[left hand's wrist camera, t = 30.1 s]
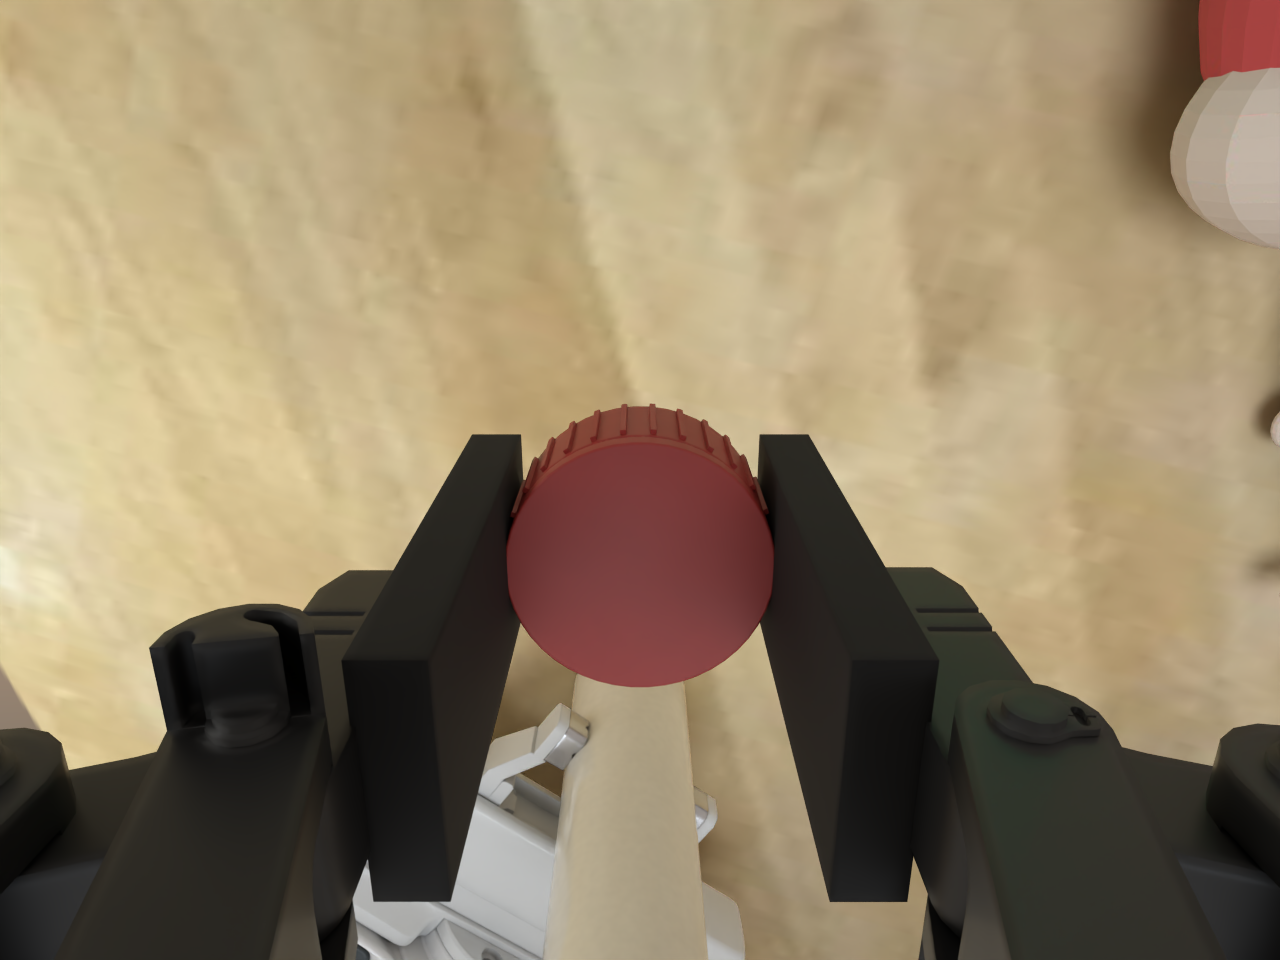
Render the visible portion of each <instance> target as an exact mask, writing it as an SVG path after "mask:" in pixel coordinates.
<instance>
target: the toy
mask: <svg viewBox="0 0 1280 960" xmlns="http://www.w3.org/2000/svg"><path fill="white" fill-rule="evenodd" d="M1198 22H1199V47H1200V71H1201V75H1202V77H1203V80H1204V82H1203V83H1202V85H1201V86H1200V88H1199V89H1198V90H1197V92H1196V93H1195V95H1194V96H1193V98H1192V99H1191V101H1190V102H1189V104H1188V105H1187V107H1186V108H1185V110H1184V112H1183V114H1182V116H1181V118H1180V121H1179V123H1178V125H1177V127H1176V130H1175V132H1174V136H1173V141H1172V146H1171V151H1170V161H1171V174H1172V177H1173V180H1174V182H1175V185H1176V188H1177V191H1178V192H1179V194H1180V195H1181V197H1182V198H1183V199H1184V201H1185V202H1186V204H1187V205H1188V206H1189V208H1191V209H1192V210H1193V211H1194V212H1195V213H1197V214H1198V215H1199V216H1200V217H1201V218H1202V219H1204V220H1205V221H1206V222H1208V223H1210V224H1212V225H1213V226H1215V227H1217V228H1219V229H1220V230H1222V231H1224V232H1226V233H1228V234H1230V235H1232V236H1234V237H1236V238H1237V239H1239V240H1243V241H1246V242H1249V243H1252V244H1255V245H1259V246H1262V247H1268V248H1274V249H1280V0H1200V3H1199V15H1198ZM1270 433H1271V438H1272V440H1273V441H1274V443H1275V444H1276V445H1277V446H1279V447H1280V412H1279V413H1278V414H1277V415H1276V416H1275V418H1274V420H1273V422H1272V425H1271V430H1270ZM1279 596H1280V595H1279Z"/></svg>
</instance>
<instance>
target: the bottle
mask: <svg viewBox="0 0 1280 960" xmlns="http://www.w3.org/2000/svg"><path fill="white" fill-rule="evenodd" d="M571 709H572V710H573V711H575V712H577V713H578V714H580V715H581V716H583V717H584V718H586V719H587V720H589V726H588V728H587V730H588V732H589V733H588V739H587V741H586V743H585V745H584V747H583V748H582V749H581V750H580V751H579V752H578V753H576V754H573V755H572V760H571V761H570V763H569V764H568V765H567V766H566V768H565V769H564V775H563V784H562V792H561V801H560V809H559V818H558V827H557V835H556V844H555V852H554V861H553V869H552V878H551V886H550V895H549V903H548V912H547V920H546V929H545V937H544V946H543V954H542V960H708V949H707V937H706V926H705V914H704V903H703V891H702V879H701V868H700V856H699V845H698V833H697V822H696V810H695V798H694V787H693V775H692V764H691V752H690V741H689V729H688V717H687V706H686V694H685V683H684V681H682V682H678V683H674V684H669V685H665V686H655V687H625V686H617V685H611V684H607V683H603V682H598V681H596V680H593V679H590V678H587V677H584V676H582V675H580V674H578V673H577V676H576V678H575V683H574V690H573V699H572V707H571Z"/></svg>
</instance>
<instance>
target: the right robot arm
mask: <svg viewBox="0 0 1280 960" xmlns="http://www.w3.org/2000/svg"><path fill="white" fill-rule="evenodd" d="M588 726H589V720H587V719H586V718H584V717H583V716H581V715H580V714H578V713H577V712H575V711H573V710H572V709H570V708H569V707H567V706H565V705H564V704H562V703H559V704H558V705H557V706H556V707H555V708H554V709H553V710H552V712H551V713H550V714H549V715H548V716H547V717H546V719H545V720H544V721H543V722H542V723H541V724H540V726H539V727H537V726H534V727H530V728H527V729H524V730H521V731H518V732H515V733H512V734H509V735H505V736H502V737H499V738H496V739H495V740H494V741H493V742H492V743H491V744H490V747H489V751H488V755H487V759H486V763H485V767H484V771H483V775H482V779H481V783H480V787H479V791H478V795H477V799H476V803H475V807H474V811H473V815H472V819H471V823H470V827H469V831H468V835H467V839H466V843H465V847H464V851H463V855H462V859H461V863H460V867H459V871H458V875H457V879H456V883H455V887H454V891H453V895H452V899H451V902H373V895H372V888H371V880H370V873H369V865H368V860H367V862H366V865H365V868H364V870H363V873H362V875H361V878H360V881H359V883H358V886H357V889H356V891H355V894H354V896H353V905H354V912H355V919H356V926H357V934H358V943H357V951H356V959H355V960H542V954H543V946H544V937H545V929H546V920H547V912H548V903H549V895H550V886H551V878H552V869H553V861H554V852H555V844H556V835H557V827H558V818H559V809H560V801H561V797H559V796H558V795H556V794H554V793H553V792H551V791H549V790H548V789H546V788H544V787H543V786H541V785H539V784H538V783H536V782H534V781H533V780H531V779H529V778H527V777H526V776H524V775H522V774H521V773H520V772H523V771H525V770H528V769H530V768H533V767H535V766H538V765H540V764H543V763H545V762H546V761H547V762H549V763H550V764H552V765H554V766H556V767H557V768H559V769H561V770H564V769H565V768H566V766H567V765H568V764H569V763H570V761H571V760H572V755H573V754H576V753H578V752H579V751H580V750H581V749H582V748H583V747H584V745H585V743H586V741H587V739H588V733H589V732H588V730H587V728H588ZM693 787H694V798H695V810H696V822H697V833H698V843H699V842H700V841H701V840H702V839H703V838H704V837H705V836H706V835H707V834H708V833H709V832H710V831H711V830H712V829H713V827H714V826H715V823H716V821H717V818H718V813H717V805H716V799H714V798H713V797H711V796H710V795H708V794H706V793H705V792H703V791H701V790H700V789H698V788H697V787H695V786H693ZM702 891H703V903H704V914H705V926H706V937H707V949H708V960H745V942H744V934H743V928H742V922H741V917H740V912H739V908H738V906H737V904H736V903H735V901H734V900H732V899H731V898H729V897H728V896H726V895H725V894H723V893H721V892H719V891H718V890H716V889H714V888H713V887H711V886H709V885H708V884H706V883H704V882H703V881H702Z"/></svg>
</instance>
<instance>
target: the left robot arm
mask: <svg viewBox="0 0 1280 960" xmlns="http://www.w3.org/2000/svg"><path fill="white" fill-rule="evenodd" d="M757 480H758V483H759V485H760V488H761V491H762V494H763V497H764V500H765V502H766V505H767V508H768V511H769V514H766V515H765V516H766V519H767V521H768V525H769V527H770V530H771V534H772V538H773V543H774V567H773V583H772V595H771V598H770V601H769V604H768V606H767V609H766V611H765V613H764V615H763V617H762V619H761V621H760V625H761V629H762V633H763V637H764V641H765V645H766V649H767V653H768V657H769V661H770V665H771V669H772V673H773V677H774V681H775V685H776V689H777V693H778V697H779V701H780V705H781V709H782V713H783V717H784V721H785V725H786V729H787V733H788V737H789V741H790V745H791V749H792V753H793V757H794V761H795V765H796V769H797V773H798V777H799V781H800V784H801V788H802V792H803V796H804V800H805V804H806V808H807V812H808V816H809V820H810V824H811V828H812V832H813V836H814V840H815V844H816V848H817V852H818V856H819V860H820V864H821V868H822V872H823V876H824V880H825V884H826V888H827V892H828V896H829V900H830V902H907V900H908V892H909V885H910V877H911V870H912V862H913V856H914V859H915V861H916V864H917V866H918V869H919V872H920V874H921V877H922V880H923V882H924V885H925V887H926V890H927V893H928V898H927V905H926V912H925V919H924V926H923V933H922V940H921V947H920V954H919V960H1280V725H1268V724H1253V725H1247V726H1242V727H1236V728H1233V729H1232V730H1231V731H1229V732H1228V733H1227V734H1226V735H1225V736H1223V737H1222V738H1221V739H1220V743H1219V746H1218V750H1217V754H1216V758H1215V761H1214V765H1213V766H1209V765H1203V764H1198V763H1193V762H1188V761H1183V760H1178V759H1172V758H1167V757H1162V756H1157V755H1152V754H1147V753H1143V752H1139V751H1135V750H1131V749H1127V748H1123V747H1121V745H1120V743H1119V741H1118V739H1117V737H1116V735H1115V733H1114V731H1113V729H1112V728H1111V727H1110V725H1109V724H1108V723H1107V722H1106V721H1105V719H1104V718H1103V717H1102V716H1101V715H1100V713H1099V712H1097V711H1096V710H1094V709H1093V708H1091V707H1090V706H1088V705H1087V704H1085V703H1084V702H1082V701H1081V700H1079V699H1078V698H1076V697H1074V696H1071V695H1069V694H1066V693H1064V692H1061V691H1059V690H1056V689H1054V688H1051V687H1048V686H1045V685H1040V684H1034V683H1033V682H1032V681H1031V680H1030V678H1029V677H1028V675H1027V674H1026V673H1025V671H1024V670H1023V669H1022V667H1021V666H1020V665H1019V663H1018V662H1017V660H1016V659H1015V658H1014V656H1013V655H1012V654H1011V652H1010V651H1009V649H1008V648H1007V647H1006V645H1005V644H1004V643H1003V641H1002V640H1001V639H1000V637H999V636H998V634H997V633H996V632H992V626H991V625H990V623H989V622H988V621H987V619H986V618H985V617H984V615H983V614H982V613H979V611H978V607H977V606H976V604H975V603H974V602H973V600H972V599H971V597H970V596H969V595H968V593H967V592H966V591H965V589H964V588H963V587H962V586H961V585H959V584H958V583H956V582H955V581H953V580H951V579H950V578H948V577H947V576H945V575H943V574H942V573H940V572H939V571H937V570H935V569H934V568H932V567H885V566H884V564H883V562H882V561H881V559H880V557H879V555H878V554H877V552H876V550H875V548H874V547H873V545H872V543H871V542H870V540H869V538H868V536H867V535H866V533H865V531H864V530H863V528H862V526H861V524H860V523H859V521H858V519H857V517H856V516H855V514H854V512H853V511H852V509H851V507H850V505H849V504H848V502H847V500H846V499H845V497H844V495H843V493H842V492H841V490H840V488H839V487H838V485H837V483H836V481H835V480H834V478H833V476H832V474H831V473H830V471H829V469H828V468H827V466H826V464H825V462H824V461H823V459H822V457H821V456H820V454H819V452H818V450H817V449H816V447H815V445H814V443H813V442H812V440H811V438H810V437H809V435H762V434H760V438H759V459H758V479H757ZM522 481H523V467H522V446H521V435H472V436H471V438H470V439H469V441H468V443H467V445H466V446H465V448H464V450H463V451H462V453H461V455H460V457H459V458H458V460H457V462H456V463H455V465H454V467H453V469H452V470H451V472H450V474H449V476H448V477H447V479H446V481H445V482H444V484H443V486H442V488H441V489H440V491H439V493H438V494H437V496H436V498H435V500H434V501H433V503H432V505H431V507H430V508H429V510H428V512H427V513H426V515H425V517H424V519H423V520H422V522H421V524H420V525H419V527H418V529H417V531H416V532H415V534H414V536H413V538H412V539H411V541H410V543H409V544H408V546H407V548H406V550H405V551H404V553H403V555H402V556H401V558H400V560H399V562H398V563H397V565H396V567H395V569H394V570H349V571H347V572H346V573H344V574H342V575H341V576H339V577H338V578H336V579H334V580H333V581H331V582H330V583H328V584H327V585H325V586H323V587H322V588H320V589H319V590H318V591H317V592H316V594H315V595H314V597H313V598H312V599H311V601H310V602H309V604H308V605H307V606H306V608H305V609H304V610H303V612H302V611H301V610H300V609H296V608H292V607H288V606H284V605H280V604H246V605H240V606H234V607H228V608H222V609H217V610H214V611H211V612H208V613H205V614H202V615H199V616H196V617H193V618H190V619H188V620H186V621H184V622H182V623H181V624H179V625H177V626H175V627H173V628H172V629H170V630H168V631H166V632H164V633H163V634H162V635H161V636H160V637H159V639H158V640H157V641H156V642H155V643H154V644H153V645H152V646H151V647H150V648H149V649H150V654H151V659H152V663H153V668H154V672H155V677H156V682H157V686H158V691H159V695H160V700H161V705H162V709H163V714H164V718H165V723H166V728H167V732H166V734H165V736H164V738H163V740H162V742H161V744H160V746H159V748H158V750H157V752H154V753H150V754H146V755H142V756H138V757H134V758H129V759H124V760H119V761H114V762H109V763H104V764H98V765H93V766H88V767H83V768H78V769H73V770H68V766H67V762H66V758H65V755H64V751H63V747H62V743H61V742H59V741H58V740H57V739H56V738H55V737H53V736H52V735H51V734H50V733H49V732H44V731H39V730H34V729H28V728H16V729H3V730H0V960H355V959H356V951H357V943H358V934H357V926H356V919H355V912H354V905H353V896H354V894H355V891H356V889H357V886H358V883H359V881H360V878H361V875H362V873H363V870H364V868H365V865H366V862H367V860H368V865H369V873H370V880H371V888H372V895H373V902H451V899H452V895H453V891H454V887H455V883H456V879H457V875H458V871H459V867H460V863H461V859H462V855H463V851H464V847H465V843H466V839H467V835H468V831H469V827H470V823H471V819H472V815H473V811H474V807H475V803H476V799H477V795H478V791H479V787H480V783H481V779H482V775H483V771H484V767H485V763H486V759H487V755H488V751H489V747H490V743H491V739H492V735H493V731H494V727H495V723H496V719H497V715H498V711H499V707H500V703H501V699H502V695H503V691H504V687H505V683H506V679H507V675H508V671H509V667H510V663H511V659H512V655H513V651H514V647H515V643H516V639H517V635H518V631H519V627H520V623H521V622H520V620H519V618H518V616H517V614H516V612H515V610H514V608H513V605H512V603H511V600H510V597H509V589H508V573H507V554H506V544H507V540H508V536H509V532H510V528H511V525H512V523H513V520H514V518H512V517H510V515H511V512H512V509H513V506H514V504H515V501H516V498H517V495H518V492H519V489H520V487H521V484H522Z"/></svg>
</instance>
